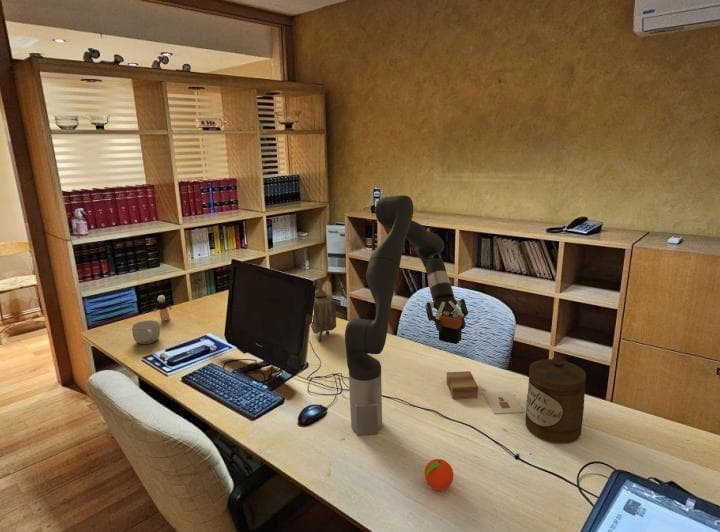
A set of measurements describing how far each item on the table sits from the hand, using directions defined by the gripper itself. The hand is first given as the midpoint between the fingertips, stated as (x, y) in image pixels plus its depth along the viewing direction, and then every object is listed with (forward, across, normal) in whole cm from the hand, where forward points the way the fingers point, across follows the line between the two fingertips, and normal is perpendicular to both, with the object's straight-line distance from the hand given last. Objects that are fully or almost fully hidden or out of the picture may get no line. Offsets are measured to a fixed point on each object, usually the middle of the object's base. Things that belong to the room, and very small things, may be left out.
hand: (452, 329), depth 159 cm
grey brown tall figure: (-20, -39, +46) cm, 63 cm away
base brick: (+19, 0, +6) cm, 20 cm away
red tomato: (+47, -23, -22) cm, 57 cm away
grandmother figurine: (-46, -109, +72) cm, 139 cm away
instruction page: (+26, +10, -1) cm, 28 cm away
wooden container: (+37, +17, -12) cm, 42 cm away
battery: (+2, 0, +4) cm, 5 cm away
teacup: (-29, -112, +55) cm, 128 cm away
